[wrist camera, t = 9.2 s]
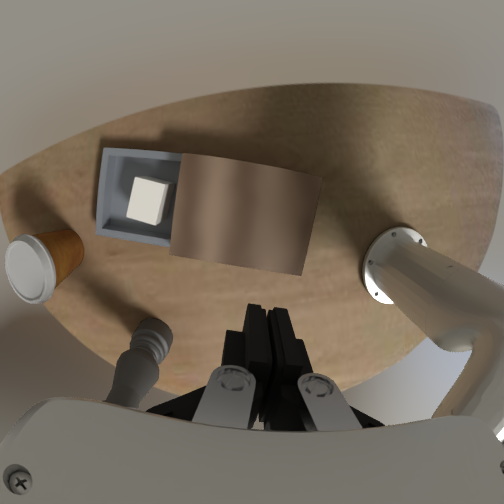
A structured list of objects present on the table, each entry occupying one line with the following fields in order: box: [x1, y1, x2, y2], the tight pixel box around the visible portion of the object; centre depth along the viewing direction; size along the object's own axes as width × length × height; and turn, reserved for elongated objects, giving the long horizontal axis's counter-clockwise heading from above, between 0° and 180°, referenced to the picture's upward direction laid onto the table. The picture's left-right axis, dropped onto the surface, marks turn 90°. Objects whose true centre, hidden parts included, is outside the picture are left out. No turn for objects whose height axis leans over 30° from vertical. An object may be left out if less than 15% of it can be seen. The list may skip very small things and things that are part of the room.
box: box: [96, 148, 182, 247], centre depth 34 cm, size 12×12×3 cm
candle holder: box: [102, 318, 173, 409], centre depth 30 cm, size 6×6×25 cm
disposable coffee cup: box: [5, 229, 84, 304], centre depth 32 cm, size 10×10×12 cm
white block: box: [126, 176, 175, 225], centre depth 33 cm, size 5×5×4 cm
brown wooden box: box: [169, 153, 323, 276], centre depth 34 cm, size 16×12×6 cm
